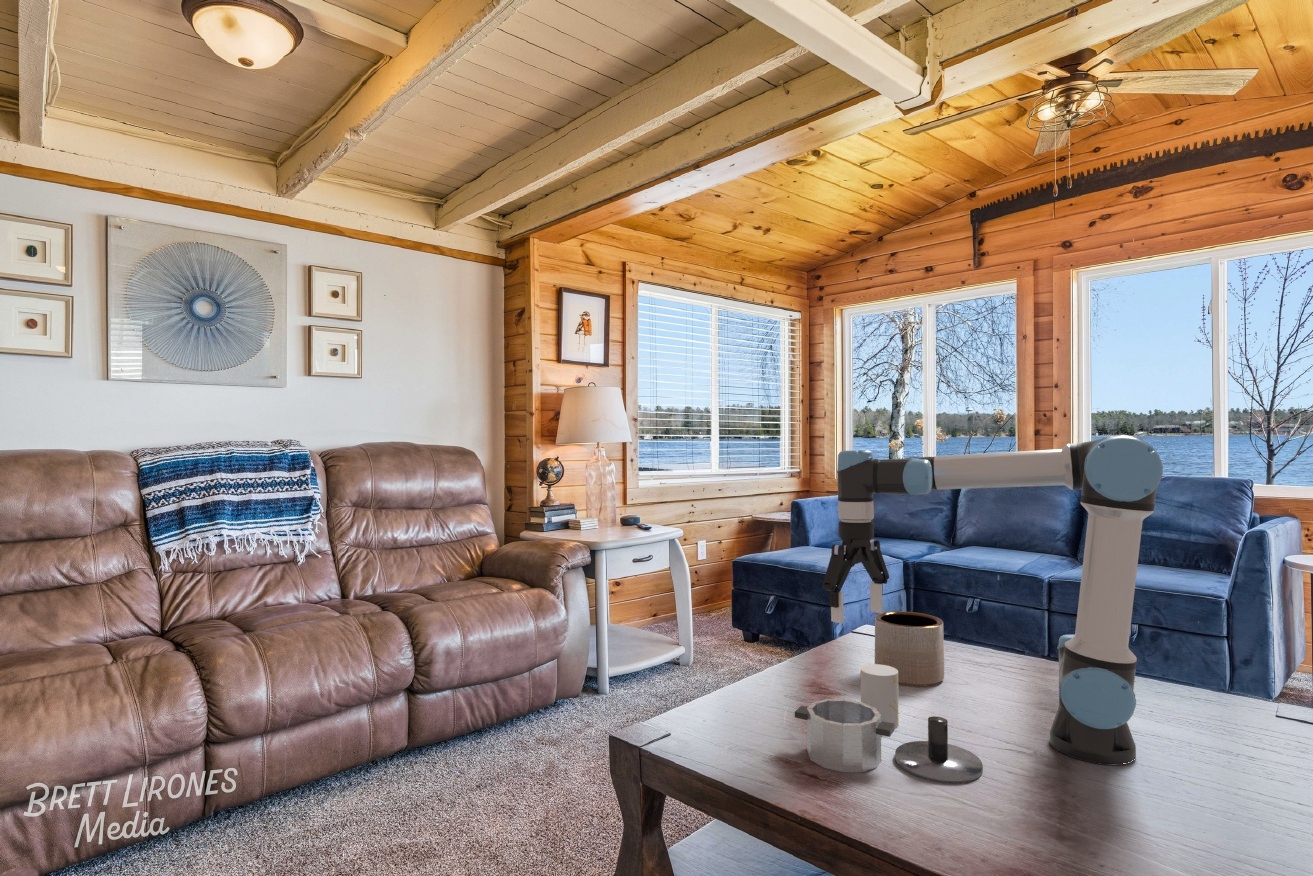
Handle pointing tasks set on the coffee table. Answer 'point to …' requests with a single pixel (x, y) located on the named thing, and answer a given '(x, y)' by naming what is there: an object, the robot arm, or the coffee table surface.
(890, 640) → the planter
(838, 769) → the pot
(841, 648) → the coffee table surface
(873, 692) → the beige cylinder
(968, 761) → the lid
